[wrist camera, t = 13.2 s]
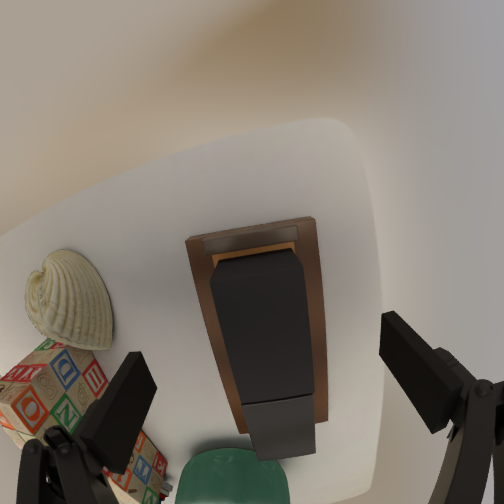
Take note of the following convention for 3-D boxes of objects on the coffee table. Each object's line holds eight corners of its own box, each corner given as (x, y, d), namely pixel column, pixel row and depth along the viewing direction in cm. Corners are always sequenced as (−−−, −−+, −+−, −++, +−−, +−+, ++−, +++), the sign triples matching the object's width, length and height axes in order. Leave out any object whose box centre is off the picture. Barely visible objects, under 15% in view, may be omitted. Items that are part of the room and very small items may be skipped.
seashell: (56, 220, 17) (87, 300, 14) (104, 263, 25) (140, 326, 22) (-1, 280, 15) (20, 363, 12) (53, 307, 23) (82, 372, 20)
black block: (218, 259, 19) (208, 281, 14) (291, 247, 18) (303, 266, 14) (242, 365, 21) (241, 403, 16) (304, 356, 21) (315, 392, 16)
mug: (175, 431, 25) (157, 496, 16) (287, 432, 25) (296, 502, 16) (200, 489, 29) (193, 536, 20) (282, 489, 29) (286, 538, 19)
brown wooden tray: (189, 236, 20) (165, 256, 14) (310, 216, 20) (334, 228, 14) (239, 424, 24) (238, 468, 19) (325, 411, 24) (337, 453, 18)
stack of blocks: (169, 462, 27) (151, 533, 15) (132, 459, 27) (109, 523, 15) (81, 331, 22) (7, 406, 10) (46, 337, 22) (-21, 397, 10)
